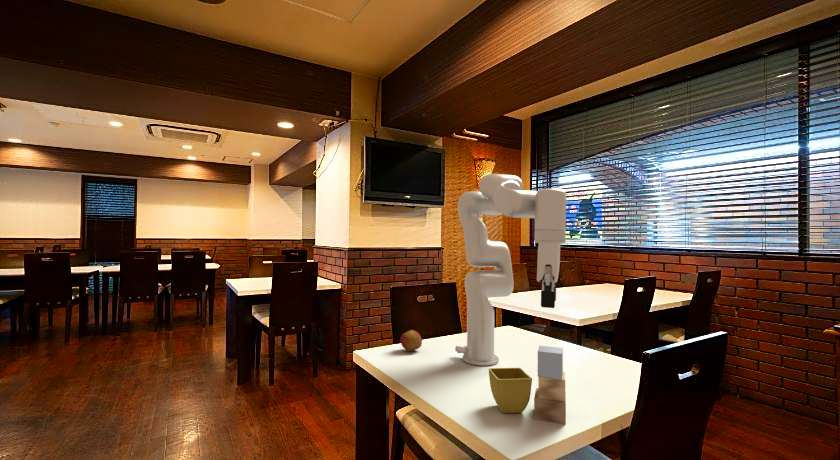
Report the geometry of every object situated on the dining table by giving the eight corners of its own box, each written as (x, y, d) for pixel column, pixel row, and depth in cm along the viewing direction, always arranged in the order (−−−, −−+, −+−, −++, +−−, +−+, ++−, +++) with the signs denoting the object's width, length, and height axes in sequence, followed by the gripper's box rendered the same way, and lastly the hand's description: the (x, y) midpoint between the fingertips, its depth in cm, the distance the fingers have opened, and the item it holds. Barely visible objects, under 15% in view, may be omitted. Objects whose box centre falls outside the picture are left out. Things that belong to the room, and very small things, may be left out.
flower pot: (487, 402, 101) (488, 367, 102) (520, 401, 102) (520, 366, 102) (497, 417, 93) (497, 379, 93) (532, 416, 93) (533, 378, 94)
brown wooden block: (534, 419, 92) (534, 398, 92) (536, 407, 99) (536, 387, 99) (565, 424, 90) (565, 402, 90) (565, 412, 96) (565, 391, 96)
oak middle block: (538, 398, 92) (538, 377, 92) (539, 389, 98) (539, 369, 98) (565, 401, 90) (565, 380, 90) (564, 392, 96) (564, 371, 96)
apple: (411, 347, 154) (411, 326, 154) (425, 351, 148) (425, 330, 148) (396, 350, 148) (396, 329, 149) (410, 355, 142) (410, 333, 143)
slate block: (537, 376, 93) (537, 351, 93) (539, 369, 98) (539, 345, 98) (562, 379, 91) (562, 353, 91) (562, 372, 96) (562, 347, 96)
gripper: (537, 236, 109) (536, 297, 109) (531, 237, 93) (530, 308, 93) (565, 237, 106) (564, 299, 106) (565, 238, 90) (563, 311, 90)
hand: (548, 303), depth 100 cm, fingers open, 9 cm apart
